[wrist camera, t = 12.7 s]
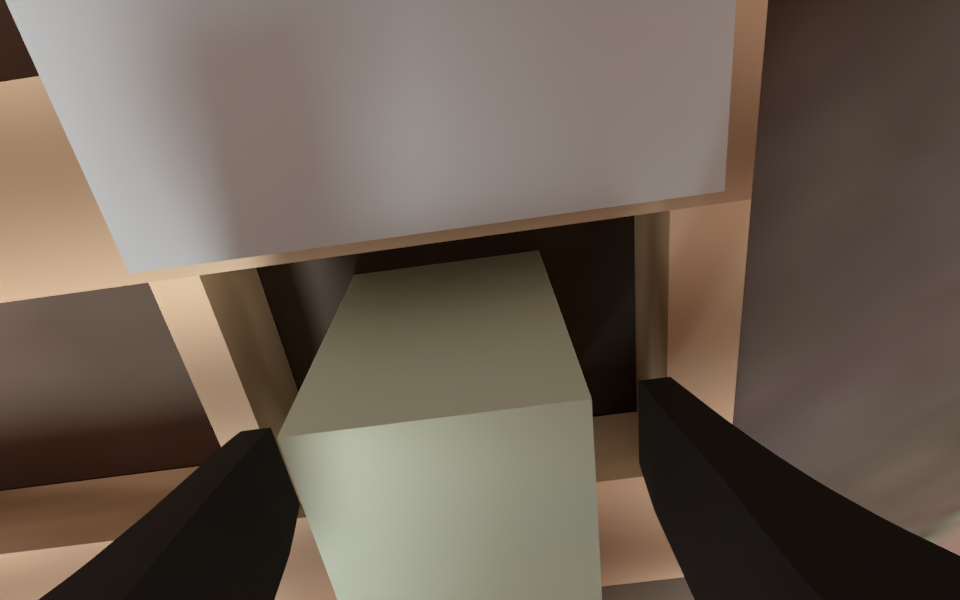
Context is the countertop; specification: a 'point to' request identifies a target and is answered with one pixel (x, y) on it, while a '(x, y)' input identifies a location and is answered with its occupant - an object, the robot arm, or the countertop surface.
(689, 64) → the lid
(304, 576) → the puzzle board
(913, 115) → the countertop surface
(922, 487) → the countertop surface
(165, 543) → the robot arm
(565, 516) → the block
